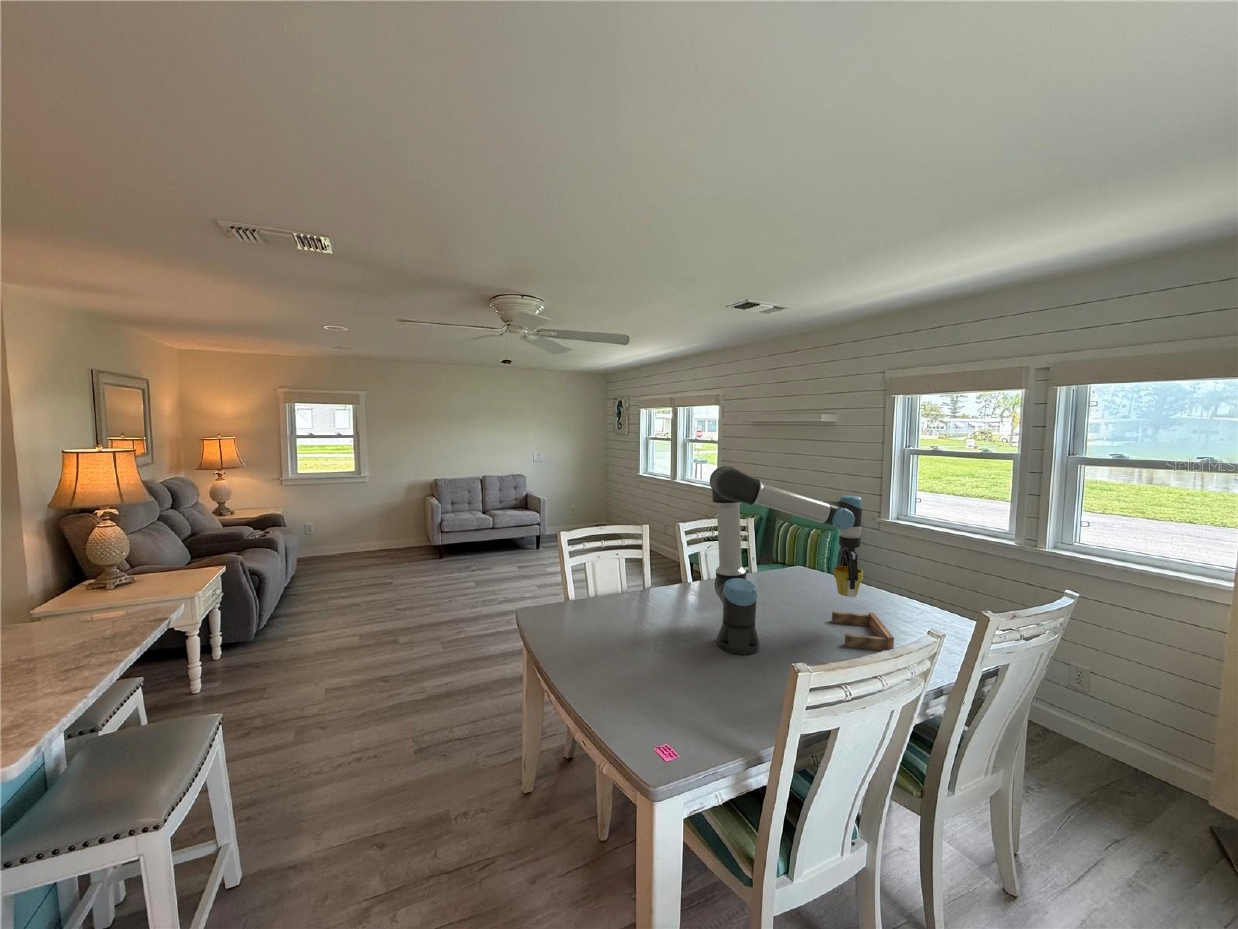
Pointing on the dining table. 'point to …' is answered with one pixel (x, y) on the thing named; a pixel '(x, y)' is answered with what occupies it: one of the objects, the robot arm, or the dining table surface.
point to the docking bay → (860, 641)
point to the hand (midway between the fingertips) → (847, 591)
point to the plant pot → (845, 579)
